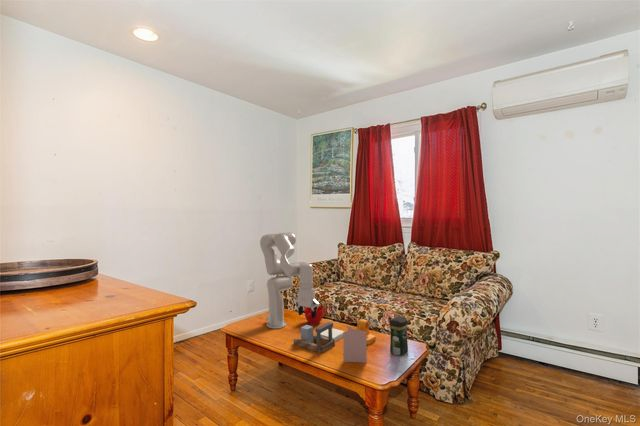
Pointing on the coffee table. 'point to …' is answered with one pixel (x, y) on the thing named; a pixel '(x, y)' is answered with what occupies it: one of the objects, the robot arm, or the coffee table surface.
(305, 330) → the block
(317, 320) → the ceramic cup
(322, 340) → the rack
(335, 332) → the plinth
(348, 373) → the coffee table surface
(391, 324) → the coffee jar
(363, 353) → the greeting card
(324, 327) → the grey arch
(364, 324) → the bracket
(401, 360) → the coffee table surface
